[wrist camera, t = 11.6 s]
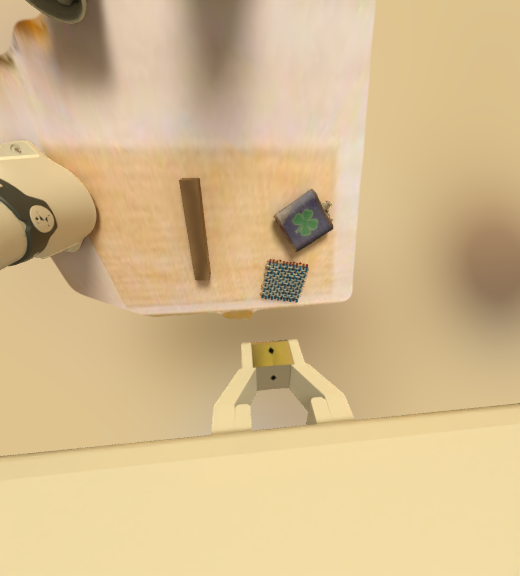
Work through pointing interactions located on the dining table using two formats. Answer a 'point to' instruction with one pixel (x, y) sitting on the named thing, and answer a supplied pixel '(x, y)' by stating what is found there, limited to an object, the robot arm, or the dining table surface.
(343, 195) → the dining table surface
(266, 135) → the dining table surface
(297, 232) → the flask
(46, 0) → the ceramic mug
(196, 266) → the bar
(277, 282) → the woven mat
